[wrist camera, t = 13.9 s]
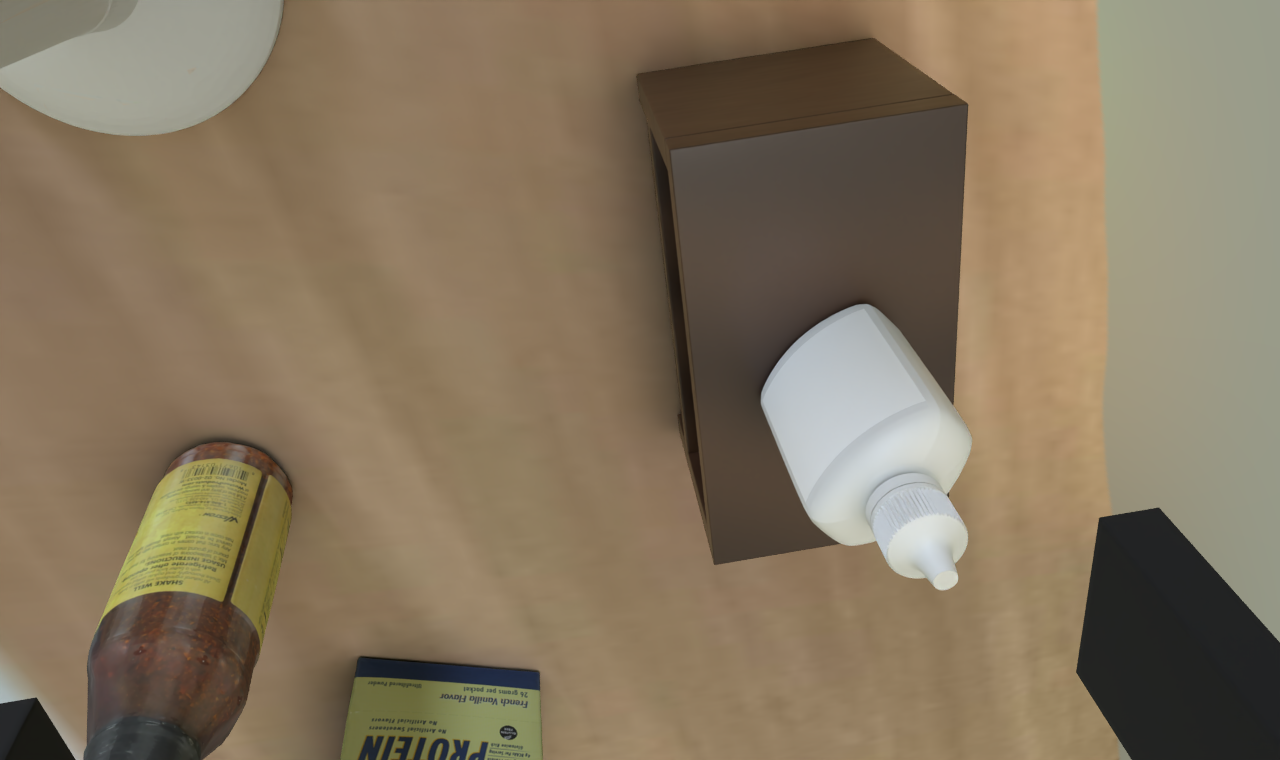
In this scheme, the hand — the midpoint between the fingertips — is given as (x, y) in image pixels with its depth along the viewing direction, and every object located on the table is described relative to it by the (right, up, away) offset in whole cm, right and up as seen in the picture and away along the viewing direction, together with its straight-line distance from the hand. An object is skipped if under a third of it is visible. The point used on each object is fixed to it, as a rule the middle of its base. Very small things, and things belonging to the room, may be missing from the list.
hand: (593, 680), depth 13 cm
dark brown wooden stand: (+6, +10, +33) cm, 35 cm away
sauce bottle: (-19, -1, +37) cm, 42 cm away
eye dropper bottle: (+8, +5, +25) cm, 27 cm away
